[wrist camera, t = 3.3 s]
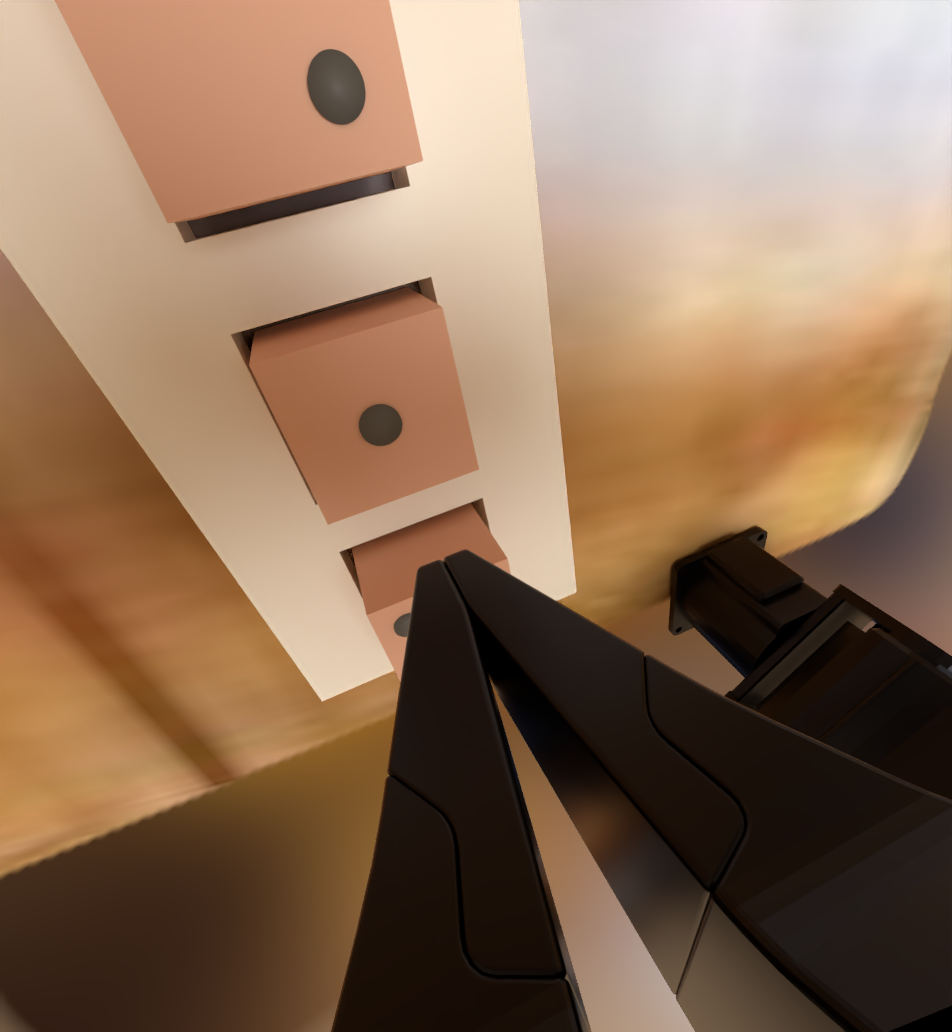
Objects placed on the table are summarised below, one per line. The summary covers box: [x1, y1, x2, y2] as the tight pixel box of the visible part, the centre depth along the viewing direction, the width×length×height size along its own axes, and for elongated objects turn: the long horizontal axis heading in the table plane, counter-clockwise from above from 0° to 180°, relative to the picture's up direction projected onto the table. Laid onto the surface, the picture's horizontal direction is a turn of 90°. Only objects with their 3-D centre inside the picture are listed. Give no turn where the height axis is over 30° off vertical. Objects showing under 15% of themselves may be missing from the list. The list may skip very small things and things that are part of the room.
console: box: [0, 0, 577, 701], centre depth 16 cm, size 25×13×2 cm, turn 14°
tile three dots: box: [351, 503, 511, 681], centre depth 19 cm, size 5×5×4 cm
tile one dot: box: [249, 287, 479, 525], centre depth 15 cm, size 5×5×4 cm
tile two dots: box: [55, 0, 423, 223], centre depth 9 cm, size 5×5×4 cm
